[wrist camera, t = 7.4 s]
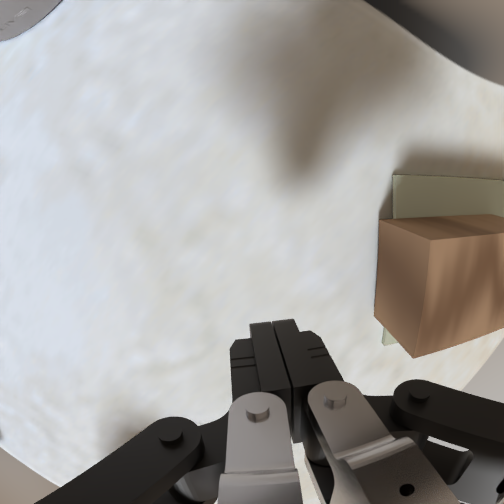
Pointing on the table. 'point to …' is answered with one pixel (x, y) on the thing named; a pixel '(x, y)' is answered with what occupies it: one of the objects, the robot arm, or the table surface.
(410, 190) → the mat
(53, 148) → the table surface
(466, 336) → the walnut block
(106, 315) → the table surface
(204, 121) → the table surface
